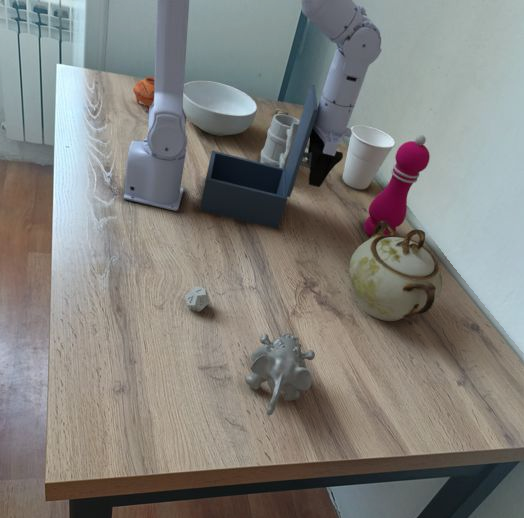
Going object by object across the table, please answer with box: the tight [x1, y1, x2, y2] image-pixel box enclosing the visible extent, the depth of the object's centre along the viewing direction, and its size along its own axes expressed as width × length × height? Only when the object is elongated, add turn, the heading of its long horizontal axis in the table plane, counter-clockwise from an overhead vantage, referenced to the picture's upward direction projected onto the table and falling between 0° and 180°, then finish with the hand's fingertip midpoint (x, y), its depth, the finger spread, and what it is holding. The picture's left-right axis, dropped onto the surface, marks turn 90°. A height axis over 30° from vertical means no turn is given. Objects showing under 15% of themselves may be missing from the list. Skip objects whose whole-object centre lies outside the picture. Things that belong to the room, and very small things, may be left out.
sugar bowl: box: [348, 221, 443, 322], centre depth 85 cm, size 20×15×15 cm
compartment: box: [199, 149, 288, 230], centre depth 100 cm, size 15×12×6 cm
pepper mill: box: [363, 134, 431, 237], centre depth 101 cm, size 7×7×20 cm
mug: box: [260, 113, 300, 169], centre depth 112 cm, size 8×12×12 cm, turn 7°
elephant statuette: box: [245, 332, 316, 416], centre depth 67 cm, size 9×12×8 cm
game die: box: [184, 285, 211, 313], centre depth 77 cm, size 4×4×3 cm
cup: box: [341, 124, 396, 190], centre depth 117 cm, size 10×10×11 cm
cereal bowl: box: [183, 80, 258, 137], centre depth 120 cm, size 17×17×7 cm
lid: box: [286, 83, 318, 198], centre depth 93 cm, size 15×12×4 cm
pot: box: [132, 76, 155, 109], centre depth 120 cm, size 8×8×7 cm
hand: (313, 175), depth 97 cm, fingers open, 7 cm apart
